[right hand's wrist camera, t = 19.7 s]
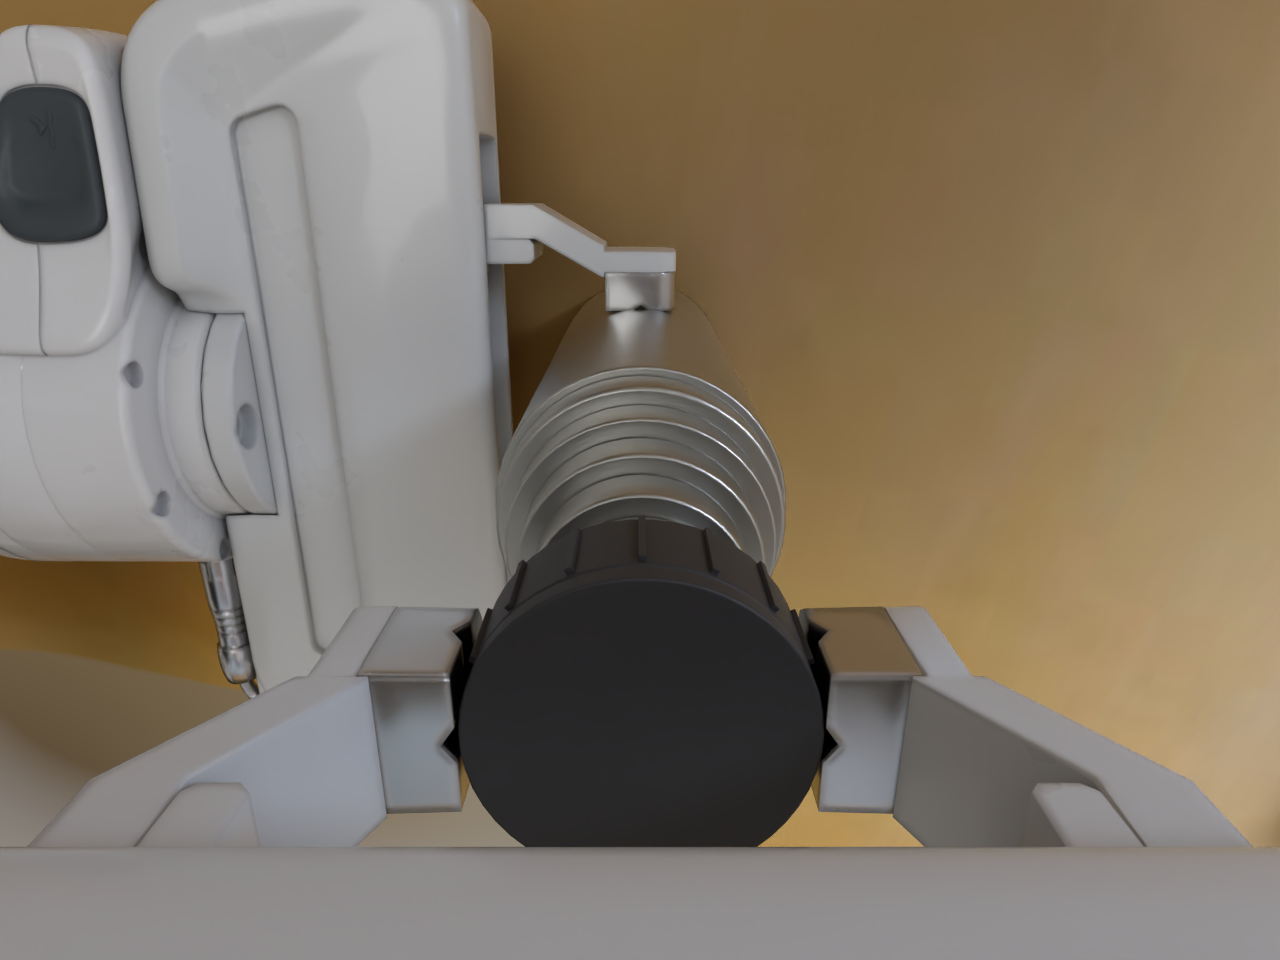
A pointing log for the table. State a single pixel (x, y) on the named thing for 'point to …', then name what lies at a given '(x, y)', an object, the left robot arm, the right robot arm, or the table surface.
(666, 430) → the bottle
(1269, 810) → the table surface
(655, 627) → the cap
